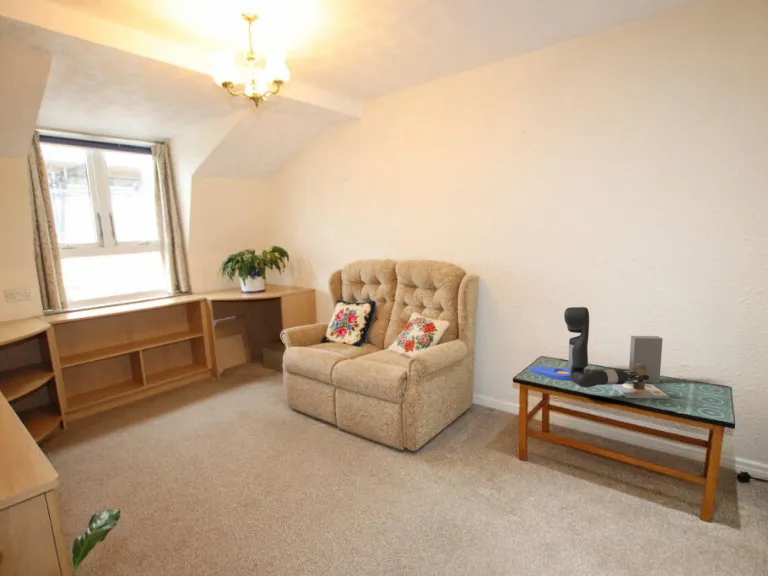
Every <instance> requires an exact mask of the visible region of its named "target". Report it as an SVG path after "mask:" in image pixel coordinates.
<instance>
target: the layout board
mask: <svg viewBox="0 0 768 576" xmlns="http://www.w3.org/2000/svg"><path fill="white" fill-rule="evenodd" d="M611 386H612V387H613V388H614V389H615V390H617V392H619V393H620V394H621V395H622V396H623V397H625V398H626V399H669V398H670V396H669V395H668V394H667V393H665V392H664V391H662V390H661V389H659V388H658V387H657V386H655V385H653V383H645V389H644V390H637V389H634V388H633V383H624V384H619V385H611Z"/></svg>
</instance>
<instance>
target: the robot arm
mask: <svg viewBox="0 0 768 576" xmlns="http://www.w3.org/2000/svg"><path fill="white" fill-rule="evenodd" d="M563 315H564V317H563V318H564V322H565V324H566V327H567V331H568V332H570V333H573V334H575V333H576V334H579V335H577V336H573V337H570V338H569V342H568V364H567V365H568V366H567V369H570V370H571V374H570V375H571V379H572V380H571V381H572V383H574V384H575V385H576V386H579V387H581V388H592V387H595V386H604V385H605V386H606V385H607V386H612V385H619V384H626V382H632V381H633V382H632V384H633V383H634V384H636V383H642V382H643V380H649V376H648V375H636V374H634V372H633V371H630V370H629V369H620V368H613V369H604V370H593V371H591V372H590V373H587V372H586V368H587V367H588V365H589V355H588V353H589V351H588V350H589V349H588V346H589V345H588V344H589V334H590V312H589V309H588V307H586V306H573V307H567V308H566V309H565V310H564V314H563ZM634 376H635V377H634Z"/></svg>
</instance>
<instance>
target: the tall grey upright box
mask: <svg viewBox="0 0 768 576" xmlns="http://www.w3.org/2000/svg"><path fill="white" fill-rule="evenodd" d="M629 348H630V349H629V364H628V365H629V366H628V370H630V371H633V372H634V365H635V364H644V365H646V375H648V376H649V380H645V383H646V384H653V383H655V384H660V383H661V365H662V350H663V338H662V337H661V336H658V335H631V336H630V347H629ZM631 382H632V383H633V381H631Z"/></svg>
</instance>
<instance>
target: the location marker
mask: <svg viewBox="0 0 768 576" xmlns="http://www.w3.org/2000/svg"><path fill="white" fill-rule="evenodd" d="M531 371H532V372H531ZM530 372H531V373H533V372H534V373H533V374H536V373H537V374H536V375H539V374H540V375H539V376H542V375H544V376H543V377H546V376H547V377H546V378H550V377H551V379H554V378H555V380H559V381H560V380H561V381H572V379H571V375H570V374H571V370H570V369H568V368H563V367H562V368H561V367H554V366H551V367H550V366H530Z"/></svg>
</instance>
